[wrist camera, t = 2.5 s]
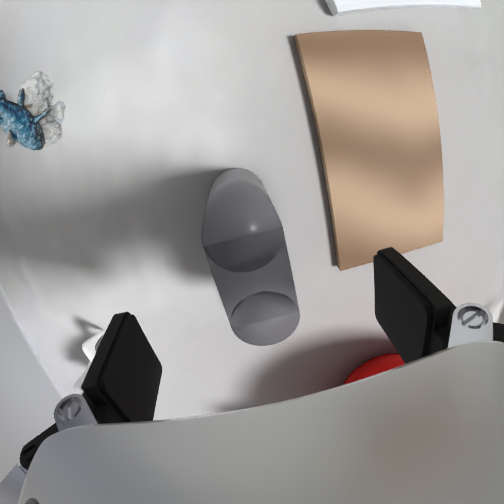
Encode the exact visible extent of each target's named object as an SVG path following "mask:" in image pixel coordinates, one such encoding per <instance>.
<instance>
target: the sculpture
mask: <svg viewBox="0 0 504 504" xmlns="http://www.w3.org/2000/svg"><path fill="white" fill-rule="evenodd" d="M52 85H53V83H52V82H51V81H50V80H49V77H48V76H47V75H45V74H44V72H41V71H37V72H35V74H33V75H32V76H30V78H29V79H27V80H26V81H24V83H23V85H22V86H21V88H20V91H19V94H18V103H17V104H16V103H13V102H11V101H7V100H6V98H5V94H4V92H3V90H0V127H1V128H2V130H3V131H4V132H5V133H6V134H7V142H8V145H7V146H8V147H9V146H10V147H12V146H14V144H15V142H19V143H20V144H21V145H22V146H24V147H26V148H30V149H31V150H41V149H42V148H43V146H44V144H45V143H46V145H45V146H46V147H47V146H49V144H50V145H51V144H52V143H56V142H58V140H60V139H61V137H62V126H61V125H62V122H63V119H64V110H65V108H66V107H65V103H64V102H63V101H62V102H60V101H58V102H57V103H56V104H55V106H54V105H53V103H52V99H53V95H52V93H51V91H50V90H51V88H52Z"/></svg>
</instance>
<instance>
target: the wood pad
mask: <svg viewBox="0 0 504 504" xmlns="http://www.w3.org/2000/svg"><path fill="white" fill-rule="evenodd" d="M294 39H295V43H296V47H297V50H298V54H299V58H300V62H301V66H302V70H303V74H304V78H305V82H306V86H307V90H308V95H309V99H310V103H311V108H312V112H313V117H314V122H315V127H316V132H317V137H318V142H319V147H320V152H321V158H322V163H323V169H324V174H325V180H326V186H327V193H328V199H329V206H330V212H331V219H332V226H333V234H334V242H335V250H336V258H337V267H338V268H339V270H340V271H342V270H346V269H349V268H353V267H357V266H360V265H364V264H367V263H371V262H373V257H374V255H377V251H378V250H381V249H385V248H388V247H393V248H394V249H395V250H396V251H398V252H399V253H400V254H402V253H405V252H409V251H412V250H415V249H419V248H422V247H425V246H429V245H432V244H435V243H438V242H442V241H443V216H444V191H443V164H442V149H441V138H440V128H439V120H438V112H437V105H436V98H435V92H434V86H433V81H432V76H431V71H430V66H429V61H428V57H427V52H426V48H425V44H424V40H423V36H422V33H420V32H407V31H385V30H353V31H331V32H317V33H306V34H297V35H295V37H294Z"/></svg>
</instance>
